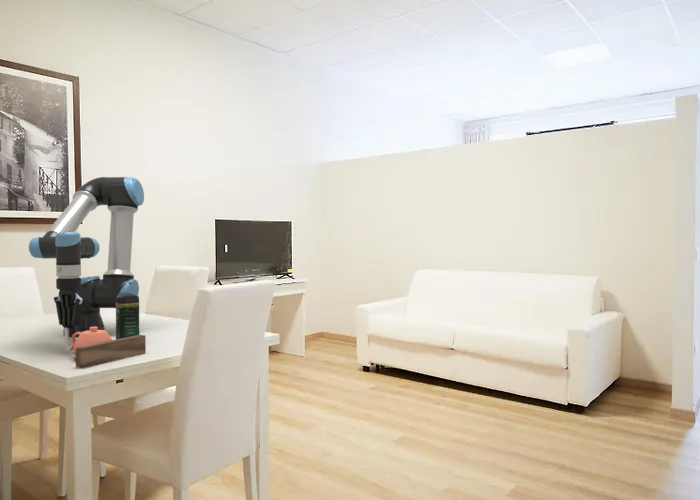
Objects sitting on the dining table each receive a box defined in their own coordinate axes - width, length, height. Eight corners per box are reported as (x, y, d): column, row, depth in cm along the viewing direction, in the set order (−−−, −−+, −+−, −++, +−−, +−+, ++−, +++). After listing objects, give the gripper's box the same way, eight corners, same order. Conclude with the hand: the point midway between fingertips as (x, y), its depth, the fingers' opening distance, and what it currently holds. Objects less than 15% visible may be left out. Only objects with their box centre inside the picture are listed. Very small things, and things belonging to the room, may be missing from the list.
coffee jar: (141, 343, 200) (141, 293, 200) (118, 345, 196) (118, 294, 195) (136, 339, 208) (135, 291, 208) (114, 341, 204) (113, 292, 203)
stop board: (75, 367, 164) (75, 347, 164) (139, 352, 185) (139, 334, 185) (82, 368, 162) (82, 348, 162) (145, 352, 184) (145, 335, 184)
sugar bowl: (101, 362, 170) (100, 330, 169) (59, 361, 171) (59, 329, 171) (121, 354, 182) (121, 324, 182) (82, 353, 183) (82, 323, 183)
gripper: (45, 277, 183) (47, 346, 184) (71, 278, 177) (72, 350, 178) (66, 275, 189) (67, 342, 190) (91, 277, 184) (92, 346, 184)
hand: (69, 346), depth 184 cm, fingers closed
